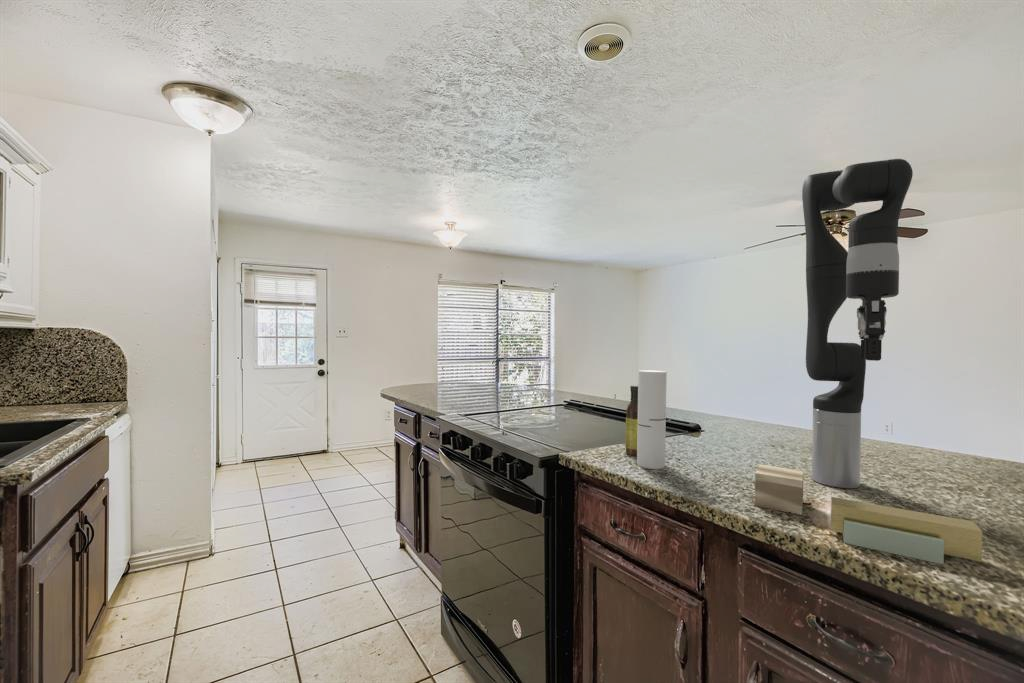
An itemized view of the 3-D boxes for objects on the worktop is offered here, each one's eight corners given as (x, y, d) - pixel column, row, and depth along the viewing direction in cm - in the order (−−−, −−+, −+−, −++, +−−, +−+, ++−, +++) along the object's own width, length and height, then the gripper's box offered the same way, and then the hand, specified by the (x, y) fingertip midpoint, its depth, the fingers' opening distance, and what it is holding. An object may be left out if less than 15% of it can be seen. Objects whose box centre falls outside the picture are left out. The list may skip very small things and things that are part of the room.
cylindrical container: (666, 469, 113) (668, 372, 113) (638, 467, 115) (639, 371, 115) (663, 462, 120) (664, 370, 120) (635, 460, 122) (637, 369, 122)
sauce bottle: (643, 458, 125) (645, 387, 125) (622, 454, 128) (623, 386, 128) (650, 453, 130) (651, 385, 130) (629, 450, 133) (630, 384, 133)
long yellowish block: (830, 521, 79) (831, 496, 79) (972, 550, 69) (973, 521, 69) (831, 530, 76) (832, 504, 75) (981, 561, 65) (982, 531, 65)
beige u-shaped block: (758, 494, 96) (759, 464, 96) (802, 502, 91) (803, 470, 91) (754, 505, 89) (755, 473, 89) (801, 514, 85) (802, 480, 85)
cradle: (841, 526, 80) (841, 507, 80) (932, 544, 73) (932, 523, 73) (843, 542, 73) (844, 521, 73) (943, 564, 66) (944, 541, 66)
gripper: (905, 263, 73) (903, 362, 73) (893, 275, 85) (891, 359, 85) (848, 267, 77) (846, 360, 77) (844, 277, 89) (842, 358, 89)
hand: (870, 359), depth 81 cm, fingers open, 8 cm apart
